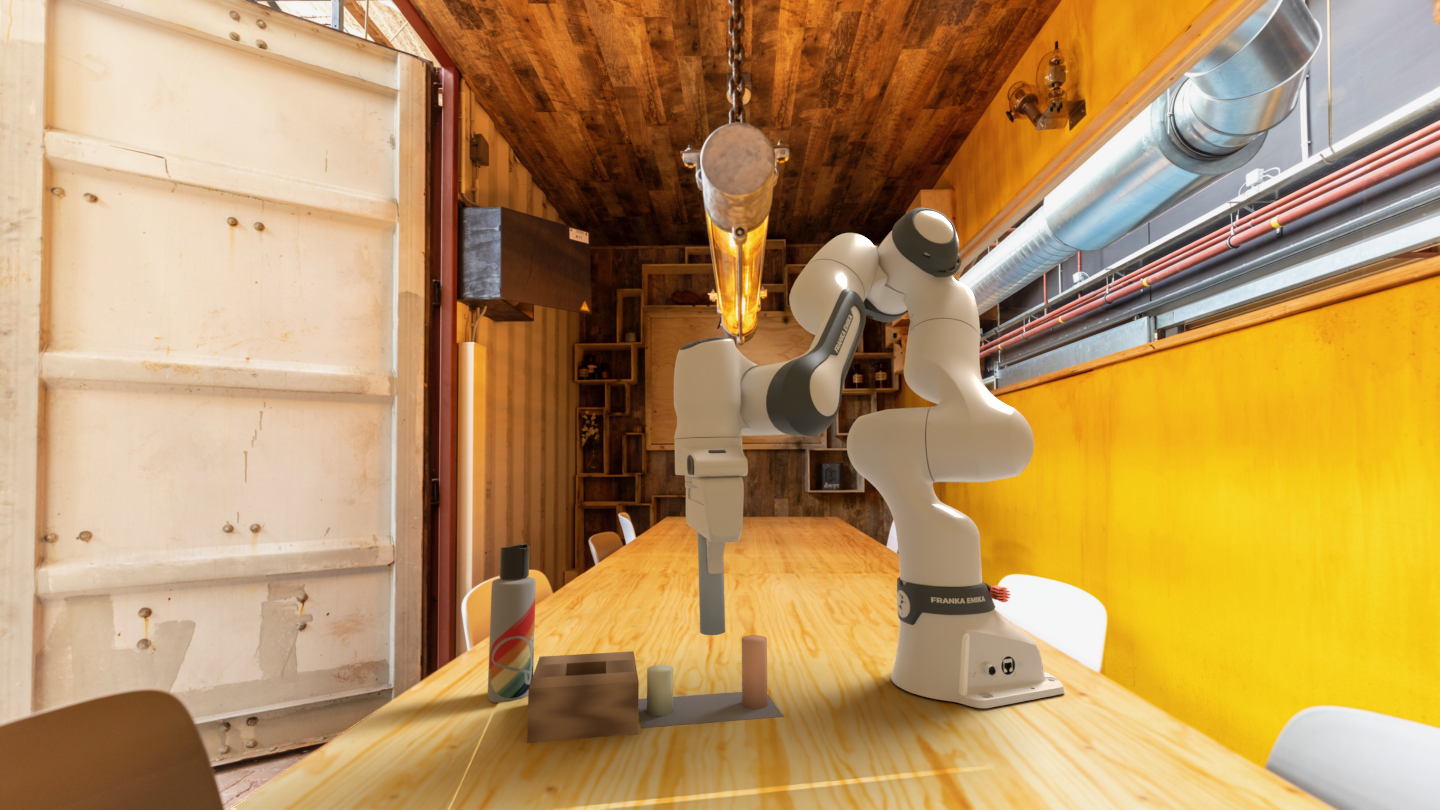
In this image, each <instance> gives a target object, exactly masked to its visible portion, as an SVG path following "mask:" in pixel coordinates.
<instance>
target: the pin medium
mask: <svg viewBox="0 0 1440 810" xmlns="http://www.w3.org/2000/svg"><path fill="white" fill-rule="evenodd" d="M767 646H768V639H767V637H766V636H764V635H759V634H758V635H756V634H753V635H752V634H751V635H745V636H742V637H741V692H742V705H743V706H744V707H746V708H751V709H760V708H764V707H766V706H767V694H768V647H767Z"/></svg>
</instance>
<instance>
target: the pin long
mask: <svg viewBox="0 0 1440 810" xmlns="http://www.w3.org/2000/svg"><path fill="white" fill-rule="evenodd" d="M697 553H698V557H697V558H698V597H699V600H698V603H699V605H698V606H699V633H700V634H701V635H705V636H718V635H719V636H720V635H722V634H724V633H725V632H726V611H725V608H726V607H725V603H726V602H725V575H724V574H725V572H724V571H725V569H724V564H725V563H724V562H723V570H722V572H721V573H720V574H710V573H709V572H708V571H707V564H706V558H707V545H706V538H705V537H703V536H702V535H701V534H699V533H698V539H697ZM722 560H723V561H724V558H723V559H722Z"/></svg>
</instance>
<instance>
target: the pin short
mask: <svg viewBox="0 0 1440 810" xmlns="http://www.w3.org/2000/svg"><path fill="white" fill-rule="evenodd" d="M646 669H647V670H646V671H647V672H646V675H647V676H646V699H647V713H648V714H649V715H652V716H666V715H669V714H671V713H672V712H673V697H674V667H673V666H671V665H669V664H656V665H655V664H654V665H651V666H648V667H647V668H646Z"/></svg>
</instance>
